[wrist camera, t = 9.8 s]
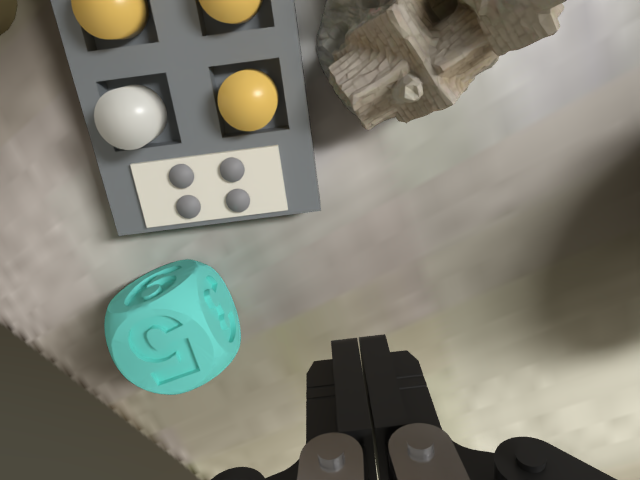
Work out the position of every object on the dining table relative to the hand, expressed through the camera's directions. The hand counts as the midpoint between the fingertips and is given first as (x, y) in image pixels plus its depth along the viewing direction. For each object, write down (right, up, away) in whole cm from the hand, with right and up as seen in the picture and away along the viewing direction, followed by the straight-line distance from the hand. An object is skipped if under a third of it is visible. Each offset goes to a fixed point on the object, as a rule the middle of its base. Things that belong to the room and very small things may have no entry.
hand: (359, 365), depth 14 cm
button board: (-10, +15, +25) cm, 31 cm away
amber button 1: (-15, +19, +21) cm, 32 cm away
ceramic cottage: (+5, +21, +23) cm, 32 cm away
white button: (-14, +13, +22) cm, 29 cm away
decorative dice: (-13, -2, +32) cm, 35 cm away
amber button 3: (-6, +14, +24) cm, 28 cm away
